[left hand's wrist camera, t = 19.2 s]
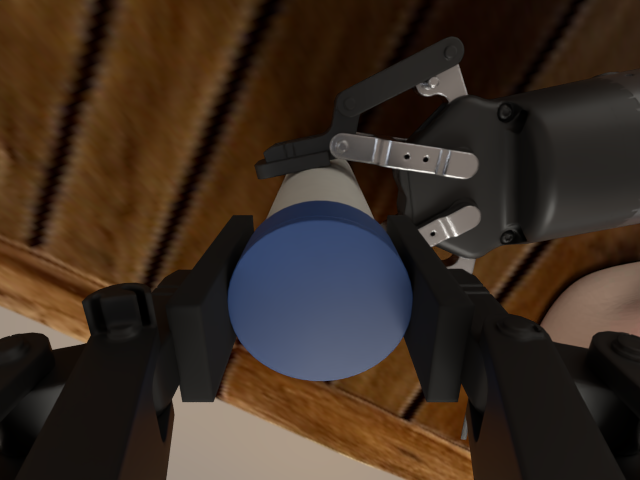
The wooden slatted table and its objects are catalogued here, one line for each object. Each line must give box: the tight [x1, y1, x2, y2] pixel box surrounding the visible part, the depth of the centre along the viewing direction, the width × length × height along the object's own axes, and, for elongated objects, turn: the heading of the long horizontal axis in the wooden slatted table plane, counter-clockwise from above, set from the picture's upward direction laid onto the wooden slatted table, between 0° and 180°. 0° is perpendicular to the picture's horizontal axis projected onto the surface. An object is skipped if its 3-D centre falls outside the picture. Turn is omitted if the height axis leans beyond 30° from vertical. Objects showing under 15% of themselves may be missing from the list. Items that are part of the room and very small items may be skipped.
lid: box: [227, 200, 413, 381], centre depth 11 cm, size 5×5×2 cm
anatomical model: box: [540, 262, 640, 348], centre depth 27 cm, size 13×4×12 cm
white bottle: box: [267, 159, 374, 219], centre depth 18 cm, size 5×5×16 cm
